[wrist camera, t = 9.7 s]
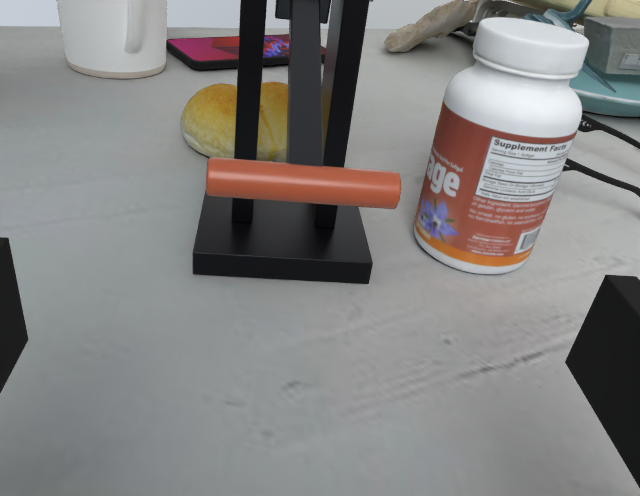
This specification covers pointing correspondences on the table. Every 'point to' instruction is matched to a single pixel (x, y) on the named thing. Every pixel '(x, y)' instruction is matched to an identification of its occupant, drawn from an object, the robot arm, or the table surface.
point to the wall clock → (604, 4)
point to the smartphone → (227, 51)
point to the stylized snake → (562, 21)
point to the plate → (608, 93)
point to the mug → (114, 37)
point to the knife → (469, 28)
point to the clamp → (503, 10)
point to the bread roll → (220, 118)
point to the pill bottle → (500, 146)
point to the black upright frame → (280, 216)
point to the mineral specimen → (613, 44)
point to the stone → (432, 25)
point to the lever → (303, 136)
